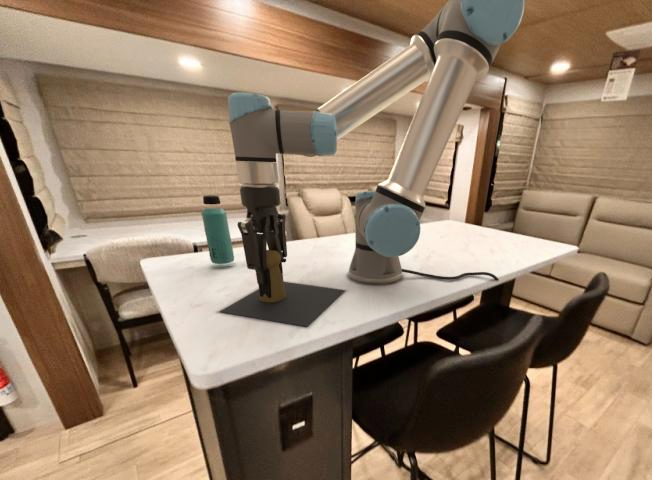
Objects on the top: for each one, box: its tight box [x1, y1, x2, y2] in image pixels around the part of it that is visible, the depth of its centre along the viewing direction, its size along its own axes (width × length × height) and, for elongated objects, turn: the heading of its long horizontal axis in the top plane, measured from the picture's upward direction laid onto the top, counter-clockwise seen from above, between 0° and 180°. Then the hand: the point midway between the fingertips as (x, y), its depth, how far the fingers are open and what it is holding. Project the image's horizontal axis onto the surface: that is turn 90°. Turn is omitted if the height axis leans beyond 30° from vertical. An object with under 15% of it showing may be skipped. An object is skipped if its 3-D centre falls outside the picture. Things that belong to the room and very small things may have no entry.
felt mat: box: [219, 281, 345, 328], centre depth 71 cm, size 20×20×1 cm
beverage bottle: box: [200, 194, 235, 265], centre depth 88 cm, size 6×7×20 cm
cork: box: [259, 249, 287, 302], centre depth 70 cm, size 6×6×11 cm
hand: (272, 292), depth 71 cm, fingers closed on cork, 4 cm apart
